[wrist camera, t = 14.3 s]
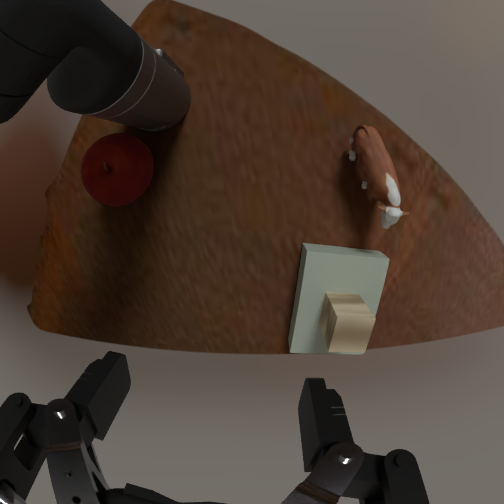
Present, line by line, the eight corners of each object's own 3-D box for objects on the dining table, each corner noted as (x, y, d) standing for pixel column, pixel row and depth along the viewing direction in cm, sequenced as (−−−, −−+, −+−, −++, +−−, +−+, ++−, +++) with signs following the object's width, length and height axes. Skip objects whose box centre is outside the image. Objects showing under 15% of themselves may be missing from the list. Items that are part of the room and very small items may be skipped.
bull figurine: (364, 222, 39) (386, 235, 31) (338, 132, 36) (356, 124, 28) (389, 214, 39) (416, 225, 31) (365, 125, 35) (388, 117, 27)
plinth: (303, 243, 40) (307, 251, 37) (379, 250, 40) (389, 259, 36) (288, 338, 45) (289, 352, 41) (356, 340, 45) (363, 354, 41)
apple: (158, 206, 40) (129, 218, 30) (104, 193, 39) (66, 203, 30) (172, 141, 37) (144, 135, 27) (115, 133, 37) (78, 127, 27)
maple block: (325, 292, 38) (337, 317, 31) (359, 294, 38) (375, 318, 31) (319, 323, 40) (328, 351, 33) (351, 324, 39) (364, 352, 33)
